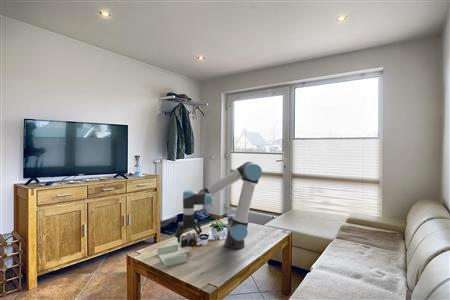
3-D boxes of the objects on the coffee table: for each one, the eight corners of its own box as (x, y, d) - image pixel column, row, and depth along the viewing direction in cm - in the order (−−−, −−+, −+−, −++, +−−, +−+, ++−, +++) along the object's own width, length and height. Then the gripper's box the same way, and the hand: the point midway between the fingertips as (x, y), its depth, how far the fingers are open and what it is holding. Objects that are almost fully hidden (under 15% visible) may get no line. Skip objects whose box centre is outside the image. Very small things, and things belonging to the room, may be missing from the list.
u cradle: (177, 250, 169) (177, 243, 169) (187, 262, 153) (187, 254, 153) (157, 254, 162) (157, 247, 162) (165, 267, 146) (165, 258, 146)
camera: (185, 250, 158) (187, 237, 158) (178, 247, 163) (179, 233, 163) (200, 247, 167) (201, 234, 168) (192, 243, 173) (194, 231, 173)
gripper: (202, 209, 174) (202, 239, 174) (169, 214, 162) (169, 246, 162) (206, 212, 167) (206, 243, 168) (173, 217, 155) (173, 250, 156)
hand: (188, 245), depth 165 cm, fingers closed on camera, 12 cm apart
